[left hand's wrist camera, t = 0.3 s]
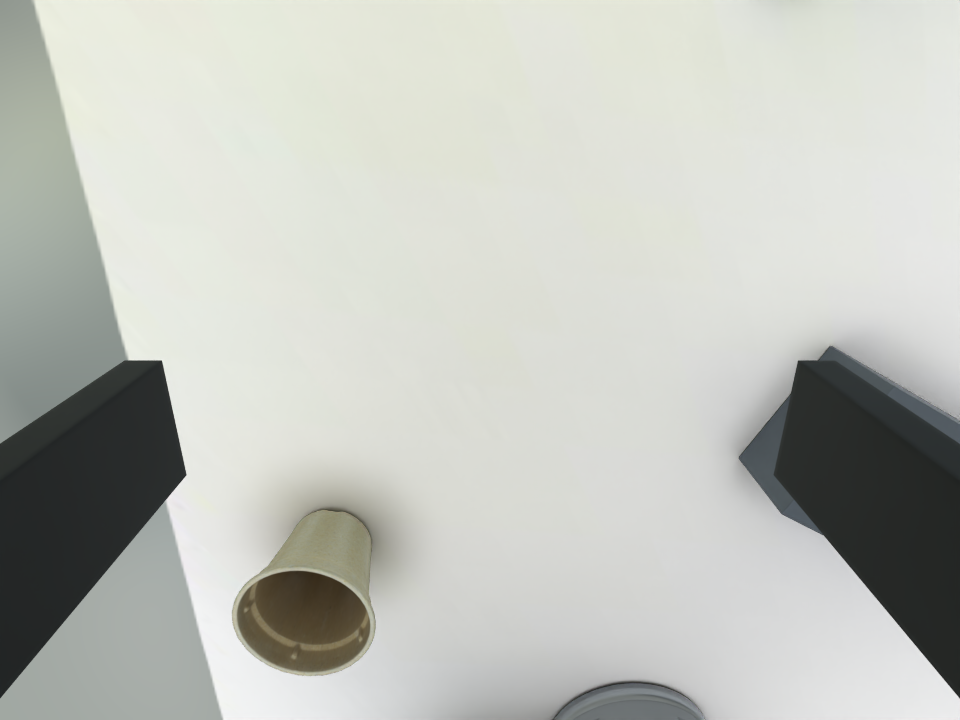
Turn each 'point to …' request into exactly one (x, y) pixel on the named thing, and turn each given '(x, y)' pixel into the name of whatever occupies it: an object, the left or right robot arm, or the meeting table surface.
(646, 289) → the meeting table surface
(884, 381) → the dark grey long bar
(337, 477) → the meeting table surface
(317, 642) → the flower pot
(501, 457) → the meeting table surface
